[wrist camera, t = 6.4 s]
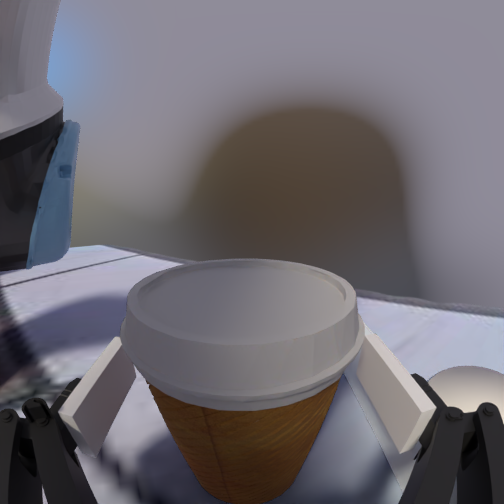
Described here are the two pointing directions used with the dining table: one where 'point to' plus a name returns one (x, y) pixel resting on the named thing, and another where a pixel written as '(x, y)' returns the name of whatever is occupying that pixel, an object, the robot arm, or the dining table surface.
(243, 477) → the disposable coffee cup
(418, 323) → the dining table surface
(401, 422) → the robot arm
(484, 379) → the mat
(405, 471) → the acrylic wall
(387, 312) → the dining table surface
